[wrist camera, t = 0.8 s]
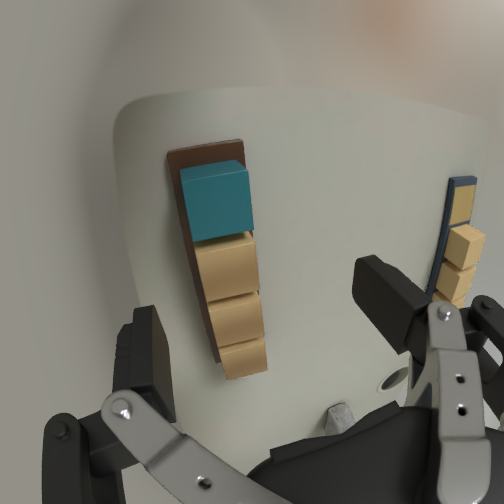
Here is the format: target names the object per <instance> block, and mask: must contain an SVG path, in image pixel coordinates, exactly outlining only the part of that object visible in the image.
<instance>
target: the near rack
mask: <svg viewBox="0 0 504 504" xmlns="http://www.w3.org/2000/svg"><path fill="white" fill-rule="evenodd" d="M167 155H168V161H169V167H170V172H171V178H172V183H173V188H174V193H175V199H176V204H177V209H178V213H179V218H180V223H181V228H182V232H183V237H184V241H185V246H186V250H187V255H188V259H189V263H190V268H191V272H192V276H193V280H194V284H195V288H196V292H197V296H198V300H199V304H200V308H201V312H202V315H203V319H204V323H205V327H206V330H207V334H208V338H209V341H210V345H211V348H212V352H213V355H214V359H215V362H216V363H219V362H222V365H223V369H224V372H225V376H226V380H231V379H236V378H240V377H244V376H248V375H252V374H255V373H259V372H263V371H267V370H268V369H267V358H266V348H265V342H264V339H263V336H264V327H263V316H262V306H261V299H260V297H259V291H258V290H260V286H259V276H258V265H257V255H256V245H255V241H254V240H253V232H252V230H250V231H245V232H240V233H235V234H230V235H225V236H220V237H215V238H211V239H206V240H201V241H196V242H193V240H192V235H191V230H190V225H189V220H188V215H187V210H186V205H185V199H184V194H183V188H182V183H181V175H180V169H185V168H190V167H195V166H201V165H206V164H212V163H218V162H224V161H230V160H237V161H238V162H239V163H240V164H241V165H243V166H244V167H245V168H246V164H245V155H244V145H243V140H241V139H235V140H228V141H221V142H215V143H209V144H203V145H197V146H191V147H186V148H181V149H176V150H171V151H168V152H167Z"/></svg>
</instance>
